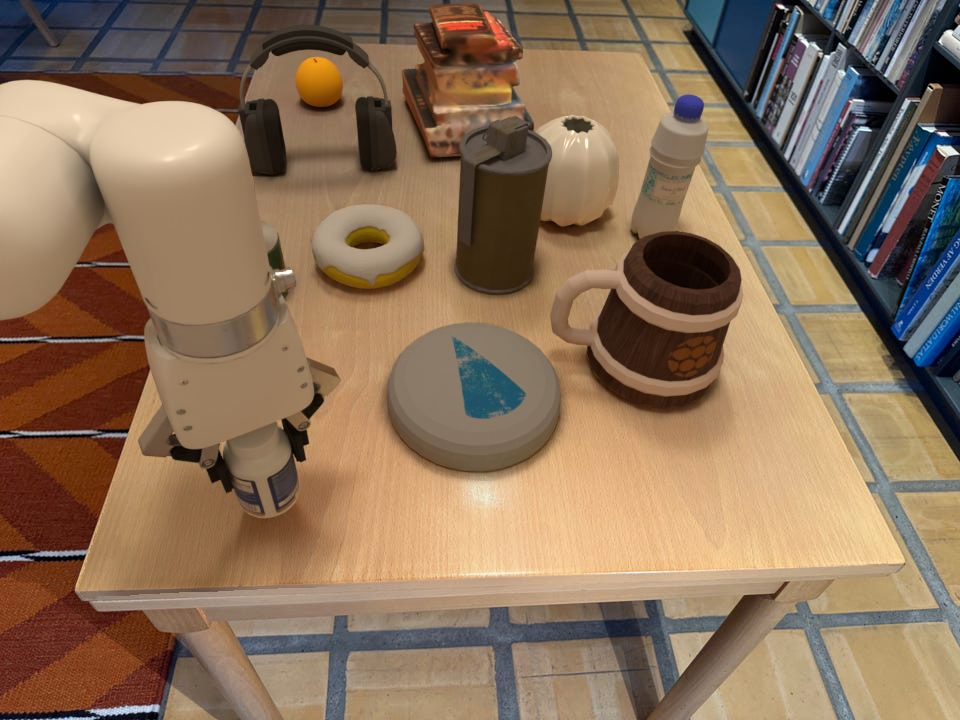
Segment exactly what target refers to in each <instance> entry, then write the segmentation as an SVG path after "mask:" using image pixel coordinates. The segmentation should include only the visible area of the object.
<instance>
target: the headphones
mask: <svg viewBox="0 0 960 720" xmlns="http://www.w3.org/2000/svg"><path fill="white" fill-rule="evenodd" d="M308 50H309V51H318V52H319V51H320V52H325V53H330V54H333V55H337V56H341V57H342V56H344V55H345V54H346V52H347V54H348V57H349V58H350V59H351V60H352V61H353V63H355V64H356V65H358V67H361V68H362V69H366V68H368V69H369V70H370V71H371V72H372V73H373V74H374V76H375V78H377V80H378V82H379V84H380V86H381V90H382V92H383V93H382V94H383V98H382V97H376V96H375V97H374V96H372V95H371V96H370V95H367V96H366V97H365V96H359V97H358V98H357V99H356V101H355V105H354V109H355V117H356V118H355V119H356V132H357V144H358V147H357V148H358V155H359V163H360V165H361V167H362V168H363V170H366V171H370V170H372V171H379V170H380V169H381V170H382V169H387V168H390V167H391V166H392V165H393V164H394V162H395V161H396V158H397V153H398V152H397V151H398V150H397V144H396V139H395V134H394V131H393V109H392V108H393V107H392V102H391V100H390V99H389V98H388V92H387V86H386V84H385V81H384V78H383V77H382V74H381V73H380V71H379V70H378V69H377V67H376V66H375V65H374V64H373V63H372V62H371V61H370V58H369V54H368V53H367V52H366V51H365V50H364V49H363V48H362V47H361V46H360V45H358V44H357V43H355V42H353V37H352V36H350V35H348V34H346V33H344V32H342V31H340V30H338V29H334V28H332V27H328V26H324V25H319V24H309V23H308V24H305V23H303V24H294V25H289V26H286V27H283V28H279V29H277V30H275V31H273V32H271V33H269V34H267V35H265V37H263V38H262V42H261V44H260V45H259V46H258V47H257V48H256V49H255V50H254V51H253V53H252V54H251V56H250V60H249V64H248V65H247V67H246V68H245V69H244V72H243V74H242V77H241V81H240V86H239V100H240V103H239V104H238V109H237V111H238V115H239V120H240V121H239V122H240V126H241V129H242V134H243V139H244V142H245V145H246V149H247V153H248V157H249V162H250V167H251V171H254V173H258V174H267V175H269V176H271V175H273V176H274V175H275V174H282V173H283V172H285V169H286V166H287V150H286V142H285V137H284V130H283V125H282V120H281V115H280V109H279V105H278V103H277V102H276V101H275V100H274V99H272V98H266V99H265V98H257V99H253V100H247V101H246V99H245V85H246V81H247V79H248V77H249V75H250V74H251V72H253V69H254V70H255V71H258V70H259V69H261V68H262V67H263V66H264V65H265V64H266V63H267V61H268V59H269V57H270V53H271V54H272V55H273V56H274V57H280V56H285V55H287V54H290V53H294V52H298V51H308Z"/></svg>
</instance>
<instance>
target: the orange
mask: <svg viewBox="0 0 960 720" xmlns="http://www.w3.org/2000/svg"><path fill="white" fill-rule="evenodd" d="M294 79H295V80H294V82H295V87H296V91H297V93H298V95H299V97H300V98H301V100H302V101H303V102H305V103H306V104H307V105H309V106H312V107H316V108H327V107H330V106H332V105H334V104H336V103H337V102H338V101H339V100H340V99H341V97H342V94H343V90H344V81H343V77H342V75H341V73H340V71H339V68H338V67H337V65H335V64H334V63H333V62H332V61H331V60H330V59H327V58H325V57H322V56H312V57H308V58H306V59H304V60H303V61H302V62H301V63H300V65H299V66H298V67H297V70H296V73H295V78H294Z"/></svg>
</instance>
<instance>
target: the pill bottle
mask: <svg viewBox="0 0 960 720" xmlns="http://www.w3.org/2000/svg"><path fill="white" fill-rule="evenodd" d="M222 457H223V460H224V462H225V465H226V467H227V470H228V473H229V476H230V478H231V481H232V484H233V487H234V489H233V491H234V493H235V497H236V500H237V502H238V504H239V506H240V508H241V509H242V510H243V511H244V512H245V513H246V514H248V515H249V516H250V517H251V516H252V517H255V518H257V519H270V518H271V519H272V518H275V517H279V516H281V515H282V514H284V513H286V512H288V511H289V510H290V509H291V508H292V507H293V506H294V505H295V504H296V502H297V500H298V498H299V495H300V490H301V484H300V478H299V475H298V469H297V465H296V459H295V456H294V454H293V451H292V446H291V442H290V439H289V437H288V435H287V433H286V432H285V431H284V430H283V427H280V426H279V425H278V421H276V422H274V423H271V424H269V425H266V426H263V427H261V428H258V429H256V430H253V431H251V432H248V433H245V434H243V435H240V436H237V437H235V438H232V439H229V440H227V441H225V443H224V446H223V449H222Z"/></svg>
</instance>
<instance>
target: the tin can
mask: <svg viewBox="0 0 960 720" xmlns="http://www.w3.org/2000/svg"><path fill="white" fill-rule="evenodd" d="M261 224H262V229H263V234H264V239H265V245H266V250H267V256H268V261H269V266H271V267H272V269H273V270H274V269H277V268H278V269H279V270H281V269H285V268H286V263H285V258H284V254H283V249H282V244H281V239H280V235H279V233H278V231H277V229H276V228H275V227H274V226H273V225H271V224H270V223H269V222H267V221H265V220H261ZM288 291H289V289H286V291H285V292H282V293H281V294H282V296H283V298H285V296H286V295H287V293H288Z"/></svg>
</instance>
